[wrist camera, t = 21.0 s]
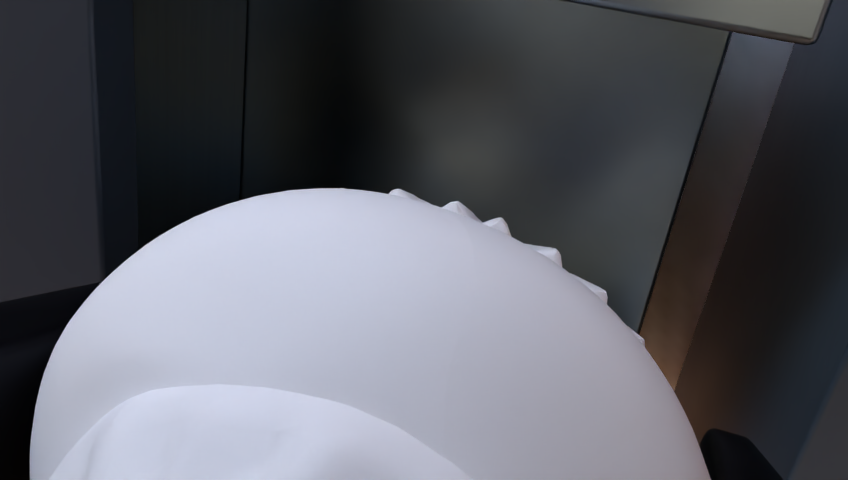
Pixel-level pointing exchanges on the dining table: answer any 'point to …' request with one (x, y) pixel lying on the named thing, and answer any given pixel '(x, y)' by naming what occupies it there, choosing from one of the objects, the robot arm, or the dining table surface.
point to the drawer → (541, 158)
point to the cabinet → (66, 143)
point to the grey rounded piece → (353, 356)
